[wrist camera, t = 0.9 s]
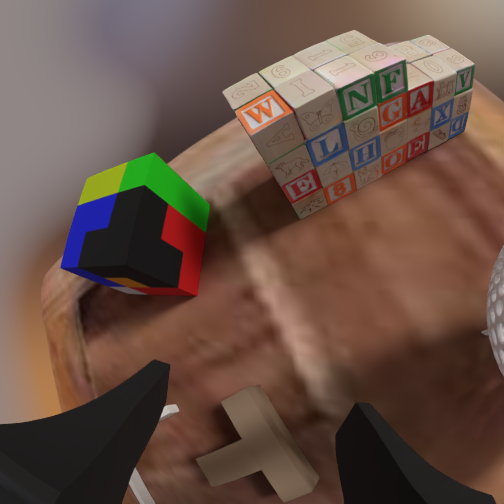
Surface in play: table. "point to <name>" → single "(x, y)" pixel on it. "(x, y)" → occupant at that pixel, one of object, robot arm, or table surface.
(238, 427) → the walnut T-block
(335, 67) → the stack of blocks
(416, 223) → the table surface
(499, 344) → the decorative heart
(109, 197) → the puzzle toy
